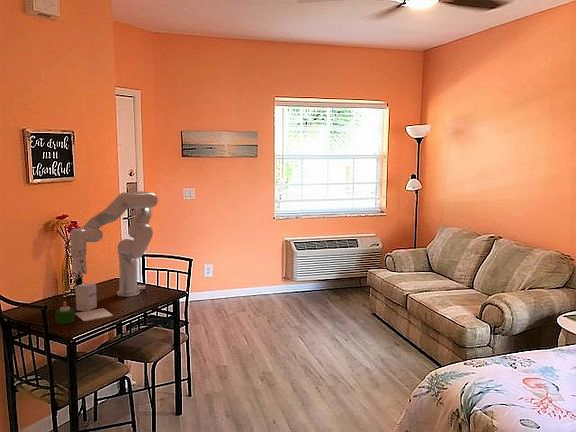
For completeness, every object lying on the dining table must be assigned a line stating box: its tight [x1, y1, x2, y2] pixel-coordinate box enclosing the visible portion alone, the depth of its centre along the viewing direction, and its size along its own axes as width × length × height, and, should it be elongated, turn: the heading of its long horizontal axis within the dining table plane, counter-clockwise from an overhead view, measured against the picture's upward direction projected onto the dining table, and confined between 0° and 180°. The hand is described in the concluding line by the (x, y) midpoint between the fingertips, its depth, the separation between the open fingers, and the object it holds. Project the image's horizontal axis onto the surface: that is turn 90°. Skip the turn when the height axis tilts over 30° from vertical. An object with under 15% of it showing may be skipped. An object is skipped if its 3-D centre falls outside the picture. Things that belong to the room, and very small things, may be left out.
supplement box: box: [75, 283, 98, 312], centre depth 256 cm, size 7×7×13 cm
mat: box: [75, 307, 114, 322], centre depth 248 cm, size 14×13×1 cm
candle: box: [55, 300, 76, 325], centre depth 238 cm, size 8×8×10 cm
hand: (78, 286), depth 263 cm, fingers closed
